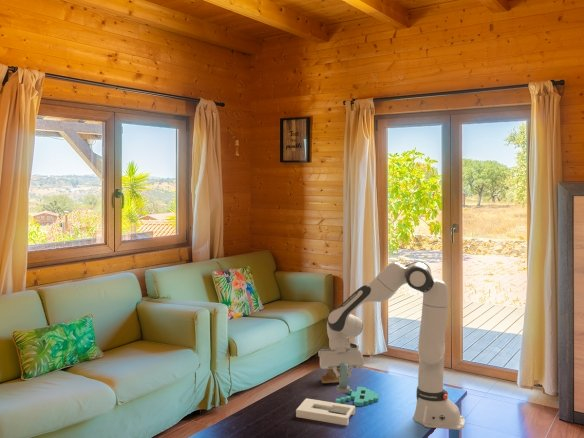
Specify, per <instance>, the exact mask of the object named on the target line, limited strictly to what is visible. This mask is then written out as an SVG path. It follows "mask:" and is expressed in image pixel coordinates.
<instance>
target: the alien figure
mask: <svg viewBox="0 0 584 438" xmlns="http://www.w3.org/2000/svg"><path fill="white" fill-rule="evenodd" d="M379 397H380V395H379V392H378V393H377V392H375V390H371V388H370V389H369V388H367V387H366V386H365V387H364V386H357V387H356V391H354V390H353V389H351V388H350V392H348V393H347V395H346V396H345V397H344V396H340V398H335V403H339V404H345V403H346V402H351V401H352V400H353V406H355V407H356V406H357V407H364V406H365V405H366V406H367V405H368V406H369V404H374V403H379Z"/></svg>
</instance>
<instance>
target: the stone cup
mask: <svg viewBox="0 0 584 438" xmlns="http://www.w3.org/2000/svg"><path fill="white" fill-rule="evenodd" d="M326 370H327V372H326V373H325V374H324V375H320V378H321V379H320V380H321V383H322V384H335V383H336V384H337V383H339V381H340V377H336V374H335V372H334V371H333V369H326ZM336 370H337V371H338V372H340V368H337V369H336Z"/></svg>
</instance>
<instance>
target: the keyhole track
mask: <svg viewBox="0 0 584 438" xmlns="http://www.w3.org/2000/svg"><path fill="white" fill-rule="evenodd" d="M355 413H356V406H355V405H350V404H345V403H340V404H339V403H336V402H331V401H325V400H319V399H312V398H307V397H306V398H305V399H304V400H303V401H302V402H301V403H300V405H299V406H298V407H297V408H296V409H295V417H296V418H302V419H307V420H311V421H318V422H324V423H330V424H335V425H340V426H341V425H342V426H348V425H349V422H350V420H349V419H350V417H351V416H354V415H356V414H355Z"/></svg>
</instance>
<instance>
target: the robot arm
mask: <svg viewBox="0 0 584 438" xmlns="http://www.w3.org/2000/svg"><path fill="white" fill-rule="evenodd" d="M405 284H407V285H408V286H409V287H410V288H412V289H413V290H416V291H418V292H421V293H422V307H421V318H420V326H419V327H420V328H419V335H418V336H419V337H418V344H417V353H418V356H419V359H418V372H417V373H418V375H417V379H418V380H417V387H416V397H415V398H416V406H415V410H414V413H413V419H414V421H416V422H417V423H419V424H421V425H423V427H425V428H431V429H442V430H443V429H444V430H445V429H446V430H455V431H457V430H458V431H461V430H462V429H464V428H465V425H466V419H465V417H464V416H463V415H461V413H460V408H459V407H458V405H456V404H455V403H454V402H453V401H452V400H451V399H449V396H448V392H449V391H448V390H447V389H446V390H445V389H444V374H445V373H444V371H445V369H444V368H445V351H446V342H445V341H446V330H447V323H448V322H447V321H448V310H449V287H448V285H447V283H446V282H444V281H443V280H440V279H436V278H434V277H433V276H432V270H431V267H430V266H429V265H428V264H427V263H426V262H423V261H414V262H411V263H409V264H406V265H405V266H404V265H403V264H401V263H399V262H391V263H389V264H388V265H387V266H385V267H384V268H383V269H382V270H381V271H380V272H379V273H378V274H377V275H376V276H375V277H374V279H372V280H371V281H370V282H368V283H367V284H363V285H362V286H360V287H359V288H358V289H356V290H355V291H354V292H353V293H352V294H351V295H350V296H349V297H348V298H346V299H345V300H344V301H343V302H342V303H341V304H340V305H338V306H337V307H336V308H334V309H332V310H331V311H330V312H329V314H328V316H327V321H326V330H327V331H326V332H327V336H328V339H329V341H328V345H329V348H320V349H319V350H318V352H317V353H318V354H317V355H318V357H319V367H320V369H322V370H327V369H333V371H334V372H335V374H336V377H340V372H338V371H337V370H336V369H337V368H340V364H341V363H347V364H348V378H351V377H352V371H353V369H361V368H363V366H364V365H365V360H364V356H363V354H362V353H363V352H361V350H359V349H360V346H359V344H357V343H353V342H351V341H349V339H352V338H355V337H358V336H359V335H360V334H362V331H363V329H364V323H363V321H362V318H360V317H358V316H356V315H354V314H352V313H353V312H355V310H357V309H358V308H359V307H360V306H361V305H362V304H365V303H370V302H372V303H373V302H375V303H384V302H387V301H388V300H390V299H391V298H392V297H393V296H394V295H395V294H396V293H397V292H398V290H399V288H401V286H403V285H405Z"/></svg>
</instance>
